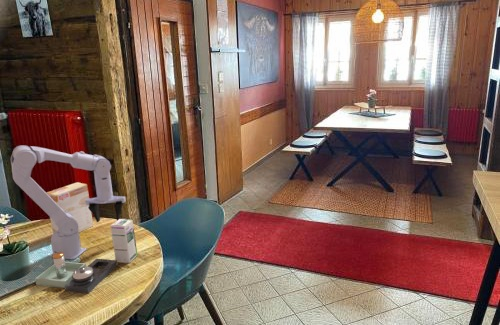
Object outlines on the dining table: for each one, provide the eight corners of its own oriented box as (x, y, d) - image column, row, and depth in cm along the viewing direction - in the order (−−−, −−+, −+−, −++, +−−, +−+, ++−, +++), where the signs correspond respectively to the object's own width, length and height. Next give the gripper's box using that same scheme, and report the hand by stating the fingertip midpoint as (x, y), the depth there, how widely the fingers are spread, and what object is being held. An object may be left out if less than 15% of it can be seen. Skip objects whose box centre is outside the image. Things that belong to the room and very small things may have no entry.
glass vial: (54, 278, 127) (50, 256, 125) (61, 272, 130) (57, 251, 128) (62, 279, 127) (58, 257, 125) (69, 273, 130) (65, 252, 128)
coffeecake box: (83, 223, 172) (77, 181, 167) (94, 226, 168) (87, 184, 163) (52, 236, 159) (44, 192, 154) (63, 240, 156) (55, 195, 151)
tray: (36, 285, 125) (35, 278, 124) (59, 267, 135) (58, 261, 134) (66, 288, 122) (64, 281, 122) (86, 270, 133) (85, 263, 132)
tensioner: (65, 291, 121) (62, 274, 119) (97, 263, 137) (94, 248, 135) (88, 293, 119) (85, 276, 118) (117, 265, 135) (115, 250, 134)
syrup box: (130, 263, 136) (125, 225, 132) (115, 262, 138) (109, 224, 134) (137, 255, 142) (133, 219, 138) (123, 254, 143) (118, 218, 139)
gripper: (80, 192, 142) (86, 226, 146) (121, 189, 143) (125, 223, 147) (86, 186, 149) (91, 218, 153) (125, 183, 150) (128, 216, 154)
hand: (108, 220), depth 150 cm, fingers open, 7 cm apart
